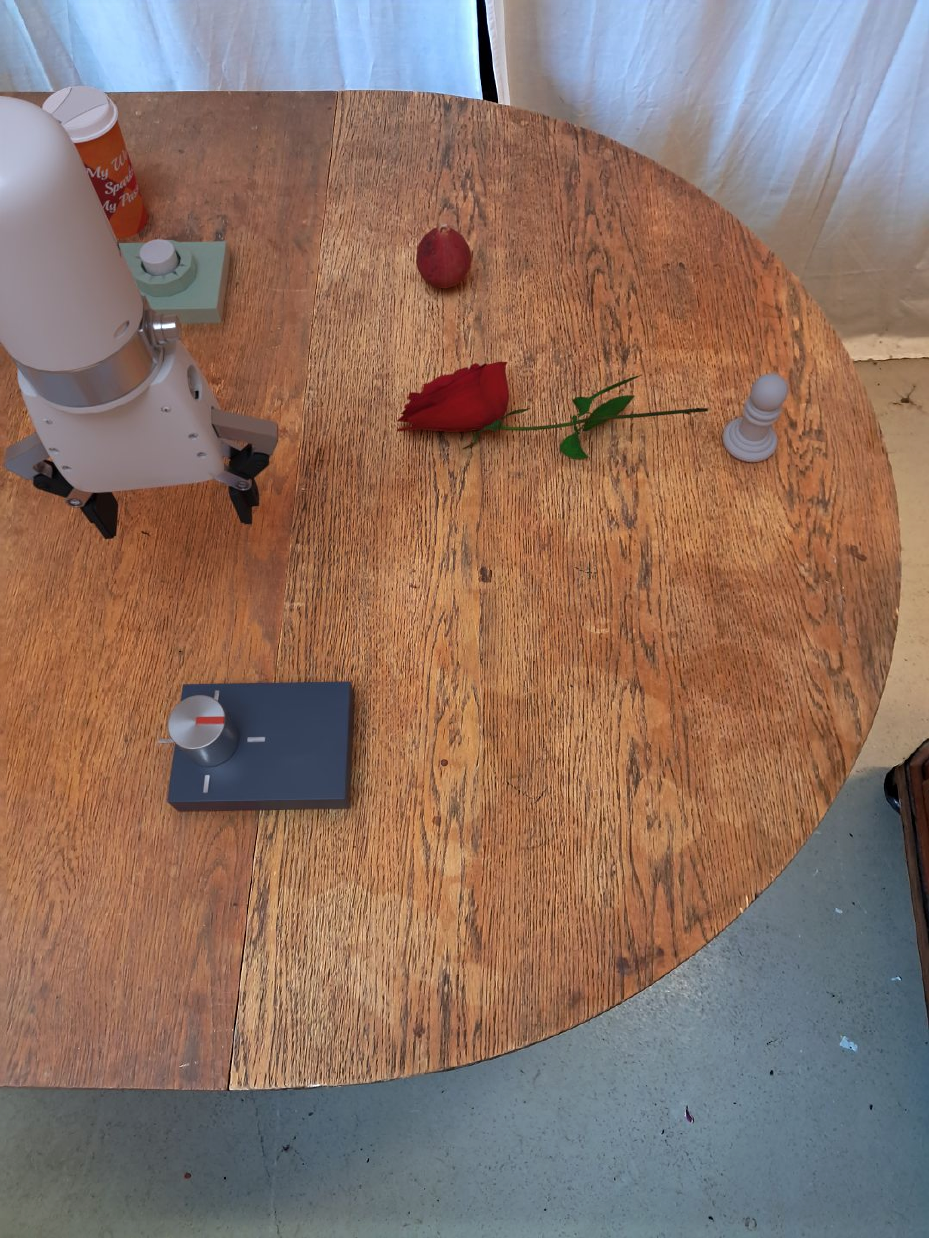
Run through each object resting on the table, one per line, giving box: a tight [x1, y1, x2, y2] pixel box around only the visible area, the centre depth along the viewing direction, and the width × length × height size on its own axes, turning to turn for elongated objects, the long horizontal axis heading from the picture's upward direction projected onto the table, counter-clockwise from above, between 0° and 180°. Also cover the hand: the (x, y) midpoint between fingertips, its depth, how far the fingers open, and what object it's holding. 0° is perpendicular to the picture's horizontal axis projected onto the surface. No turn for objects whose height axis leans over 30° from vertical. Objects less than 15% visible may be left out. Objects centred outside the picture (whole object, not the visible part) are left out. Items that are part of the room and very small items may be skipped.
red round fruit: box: [415, 222, 472, 289], centre depth 95 cm, size 6×6×8 cm
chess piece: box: [722, 372, 789, 463], centre depth 85 cm, size 5×5×9 cm
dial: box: [167, 695, 239, 767], centre depth 70 cm, size 4×4×5 cm
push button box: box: [118, 239, 232, 325], centre depth 97 cm, size 12×10×4 cm
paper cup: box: [41, 85, 148, 239], centre depth 97 cm, size 8×8×14 cm
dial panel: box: [157, 680, 356, 813], centre depth 74 cm, size 15×10×3 cm, turn 91°
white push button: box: [140, 238, 179, 276], centre depth 95 cm, size 4×4×2 cm
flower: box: [396, 361, 709, 460], centre depth 86 cm, size 9×9×30 cm
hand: (180, 514), depth 64 cm, fingers open, 9 cm apart
